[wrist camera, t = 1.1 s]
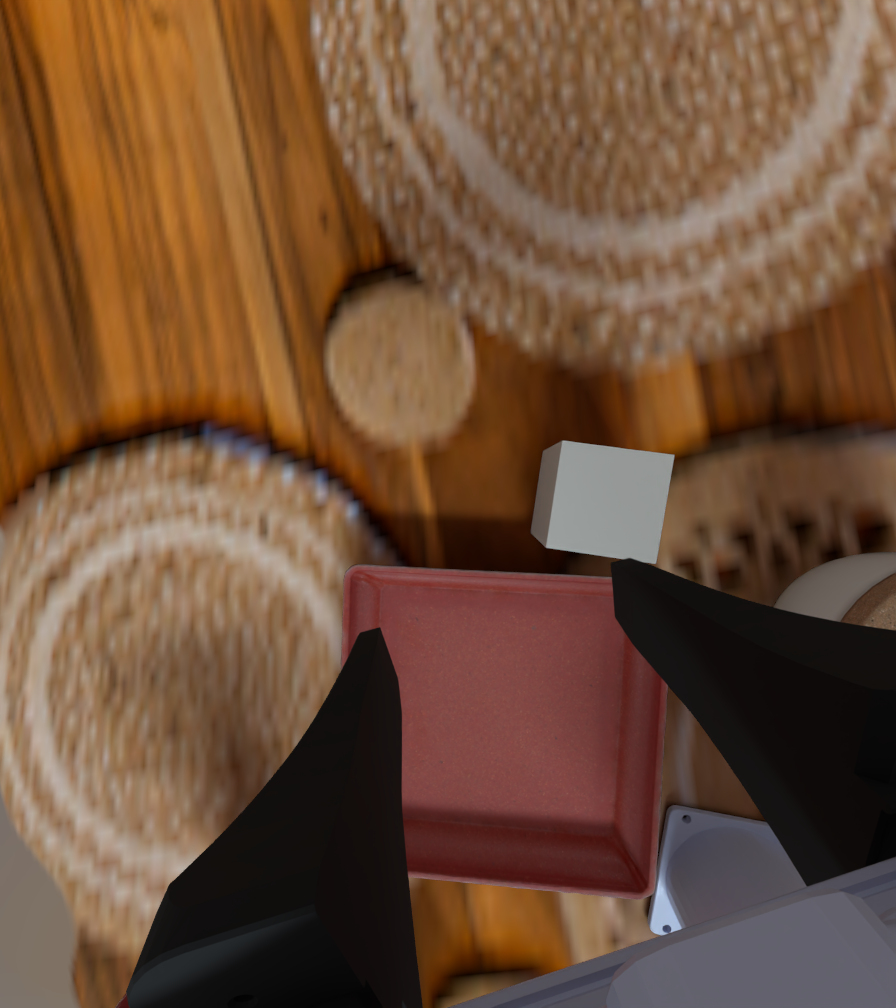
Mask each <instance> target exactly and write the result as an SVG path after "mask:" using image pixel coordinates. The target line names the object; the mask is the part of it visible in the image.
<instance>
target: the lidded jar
mask: <svg viewBox="0 0 896 1008" xmlns="http://www.w3.org/2000/svg"><path fill="white" fill-rule="evenodd" d="M773 607H774V608H778V609H782V610H786V611H790V612H794V613H798V614H803V615H808V616H813V617H818V618H823V619H828V620H833V621H838V622H844V623H849V624H855V625H861V626H868V627H875V628H882V629H889V630H896V552H877V553H865V554H858V555H851V556H847V557H843V558H839V559H836V560H832V561H829V562H826V563H824V564H821V565H819V566H817V567H815V568H813V569H811V570H809V571H807V572H806V573H804V574H803V575H801V576H800V577H798V578H797V579H796V580H794V581H793V582H792V583H791V584H790V585H789V586H788V587H787V588H786V589H785V590H784V591H783V593H782V594H781V595H780V596H779V598H778V600H777V601H776V603H775V605H774V606H773Z"/></svg>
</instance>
